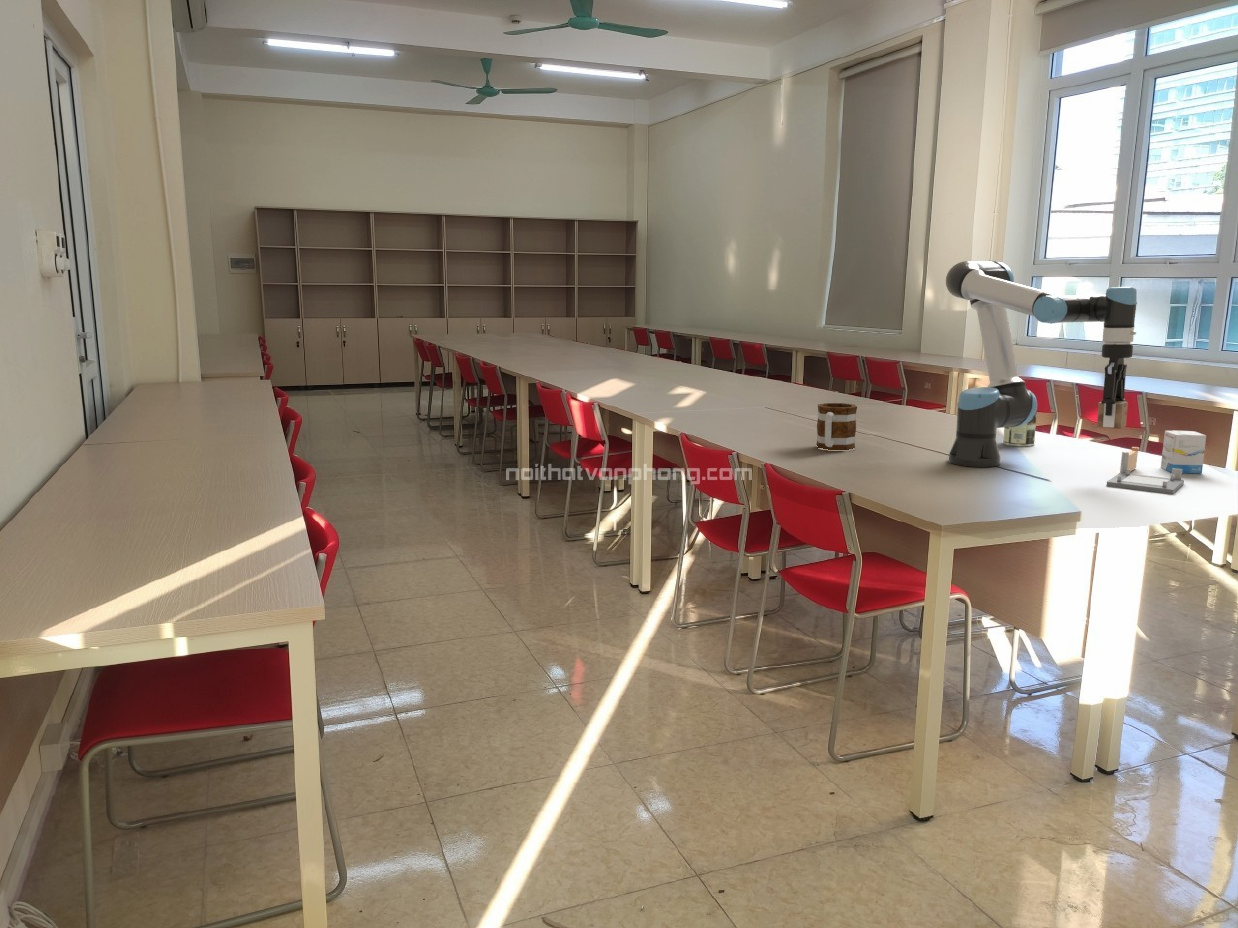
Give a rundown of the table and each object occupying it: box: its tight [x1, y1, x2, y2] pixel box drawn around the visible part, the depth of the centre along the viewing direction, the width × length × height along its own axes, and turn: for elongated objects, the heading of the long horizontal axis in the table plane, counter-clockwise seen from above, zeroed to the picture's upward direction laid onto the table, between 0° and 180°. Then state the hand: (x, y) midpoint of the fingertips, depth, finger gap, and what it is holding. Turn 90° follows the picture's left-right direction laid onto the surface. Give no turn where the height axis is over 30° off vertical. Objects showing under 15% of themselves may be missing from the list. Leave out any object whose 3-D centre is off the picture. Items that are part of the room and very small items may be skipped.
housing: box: [1106, 451, 1185, 495], centre depth 250 cm, size 16×18×7 cm
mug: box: [815, 402, 858, 450], centre depth 304 cm, size 20×14×15 cm
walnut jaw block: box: [1096, 401, 1129, 430], centre depth 252 cm, size 6×6×7 cm
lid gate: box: [1127, 446, 1140, 473], centre depth 267 cm, size 12×2×6 cm, turn 139°
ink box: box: [1160, 430, 1207, 474], centre depth 267 cm, size 8×8×12 cm
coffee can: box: [1002, 404, 1039, 447], centre depth 313 cm, size 10×10×14 cm
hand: (1111, 425), depth 252 cm, fingers closed on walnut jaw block, 6 cm apart
